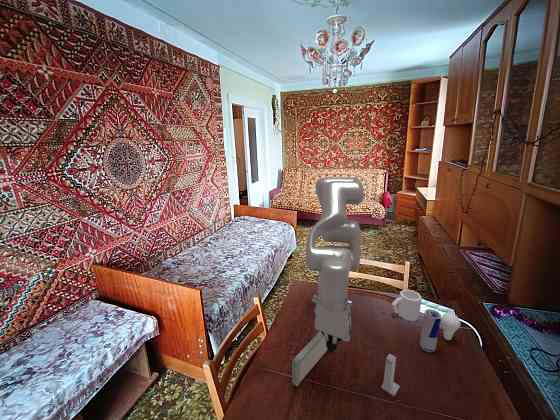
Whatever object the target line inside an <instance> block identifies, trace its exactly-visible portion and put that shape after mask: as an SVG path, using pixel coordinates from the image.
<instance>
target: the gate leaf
mask: <svg viewBox="0 0 560 420" xmlns="http://www.w3.org/2000/svg"><path fill="white" fill-rule="evenodd" d="M326 352H327V347H326V340H325V337H324V336H323V334H322V333H321V332H320V331H318V332H317V333H316V335H315V336H314V337H312V339H311V340H310V341H309V342H308V343H307V344H306V345H305V346H304V347H303V348H302V350H300V351H299V353H298V354H296V356H295V357H293V359H292V361H291V362H292V363H291V364H292V366H291V367H292V369H291V370H292V373H291V374H292V375H291V377H292V380H291V381H292V382H291V383H292V384H293V386H295V387H298V386H299V385H300V384H301V382H302V381H303V380H304V378H305V377H306V376H307V375H308V373H309V372H310V371H311V370H312V369H313V368H314V366H315V365H316V364H317V363H318V362H319V360H320V359H321V358H322V357H323V356H324V354H325V353H326Z"/></svg>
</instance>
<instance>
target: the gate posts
mask: <svg viewBox="0 0 560 420" xmlns="http://www.w3.org/2000/svg"><path fill="white" fill-rule="evenodd" d="M396 361H397V356H395V355H393V354H391V353H388V355H387V357H385V366H384V375H383V383H382V384H381V387H380V389H382V390H383V391H385V392H386V393H388V394H389V395H391V396H392V397H395V396H396V395H397V393H398V391H399V389H400V387H401V385H399V384H398V383H396V382H395V381H394V378H395V371H396V370H395V369H396V364H397V362H396Z"/></svg>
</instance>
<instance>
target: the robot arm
mask: <svg viewBox="0 0 560 420" xmlns="http://www.w3.org/2000/svg"><path fill="white" fill-rule="evenodd" d="M315 193H316V195H317V200H318V201H319V202H318V203H320V209H321V218H320V219H319V220H318V221H317V222H316V223H315V224H314V225H313V226H312V228H311V229H310V230H309V233H308V236H307V239H306V251H305V264H306V267H307V269H308V270H310V271H314V272H318V289H317V290H318V291H317V295H316V294H313V296H312V299H311V302H312V303H314V304H315V306H314V308H313V309H314V314H315V317H314V329H315V330H316V331H318V332H321V333H322V334H323V336H324V337H325V340H326V347H327V351H326V352H327V353H330V354H333V353H334V351H336V350H337V348H338V342H340V341H343V342H349V341H350V339H351V335H350V332H351V329H352V313H351V307H352V305H353V301H352V300H350V299H349V296H348V290H349V289H348V288H349V276H350V271H351V270H354V271H355V270H357V269H358V268H359V267H360V264H361V226H360V223H359V222H357V221H356V220H353V219H350V220H349V219H348V215H347V212H348V211H347V205H354V206H355V205H356V206H357V205H361V204H362V203H363V201H364V197H365V190H364V185H363V183H362V180H360V179H359V178H358V177H345V176H344V177H341V176H340V177H339V176H333V177H332V176H327V177H321V178H318V179H317V180H316V182H315ZM320 236H321V238H322V240H323V241H324V242H327V243H340V244H341V243H343V244H347V245H348V246H347V245H345V246H344V245H333V244H332V245H331V244H329V245H328V244H327V245H322V246H316V241H317V240H318V239H319V237H320Z"/></svg>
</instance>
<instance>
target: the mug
mask: <svg viewBox="0 0 560 420" xmlns="http://www.w3.org/2000/svg"><path fill="white" fill-rule="evenodd" d="M422 300H423V299H422V296H421V294H420V293H419V292H417V291H415V290H413V289H412V290H411V289H402V290H401V291H399V297H396V298H395V300H393V301H392V302H391V306H392V309H393V312H394V313H395V314H398V315H399V317H401V318H402V319H404V320H406V321H410V322H411V321H412V322H416V321H417V320H418V319H420V313H421V312H420V311H421V304H422Z"/></svg>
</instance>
